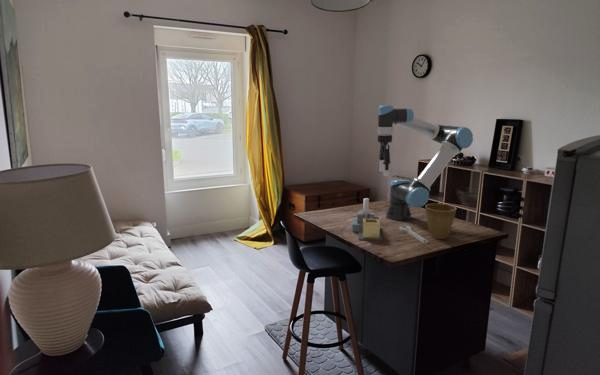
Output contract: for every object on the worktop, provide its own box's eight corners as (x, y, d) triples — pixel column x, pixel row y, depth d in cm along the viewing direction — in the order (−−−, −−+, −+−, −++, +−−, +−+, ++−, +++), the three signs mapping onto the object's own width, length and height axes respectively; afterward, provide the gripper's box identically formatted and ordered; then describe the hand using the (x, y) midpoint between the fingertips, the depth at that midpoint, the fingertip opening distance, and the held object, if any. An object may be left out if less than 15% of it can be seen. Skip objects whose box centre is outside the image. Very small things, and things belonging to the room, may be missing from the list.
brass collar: (377, 233, 202) (378, 219, 200) (379, 238, 194) (380, 223, 192) (362, 233, 202) (362, 218, 201) (363, 238, 195) (363, 222, 193)
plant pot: (437, 230, 210) (440, 202, 206) (460, 239, 197) (463, 208, 193) (417, 234, 203) (419, 205, 200) (438, 243, 190) (441, 212, 187)
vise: (376, 226, 216) (378, 197, 212) (378, 232, 205) (380, 201, 202) (351, 225, 217) (352, 196, 214) (352, 231, 206) (353, 200, 203)
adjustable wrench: (429, 244, 190) (429, 241, 190) (417, 245, 189) (417, 241, 189) (408, 228, 214) (408, 225, 214) (397, 228, 213) (397, 225, 213)
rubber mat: (381, 234, 203) (381, 233, 203) (383, 241, 192) (383, 240, 192) (358, 233, 204) (358, 232, 204) (359, 240, 193) (359, 239, 193)
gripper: (374, 133, 219) (373, 169, 223) (381, 136, 195) (380, 178, 199) (388, 132, 219) (387, 169, 223) (396, 136, 194) (395, 178, 199)
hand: (384, 173), depth 211 cm, fingers open, 13 cm apart
